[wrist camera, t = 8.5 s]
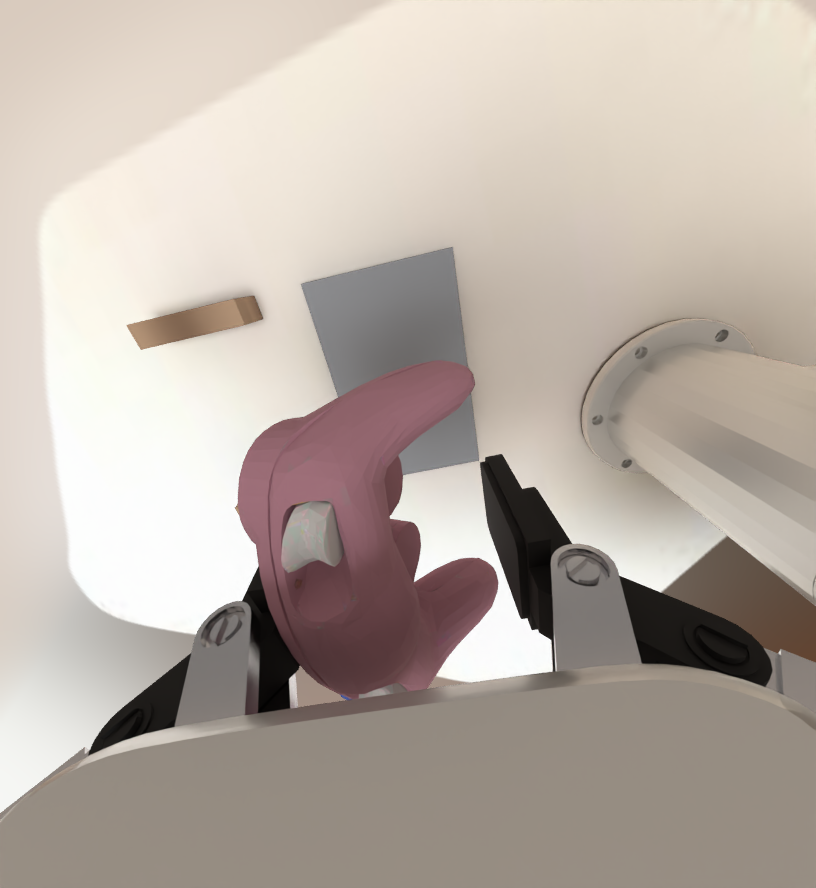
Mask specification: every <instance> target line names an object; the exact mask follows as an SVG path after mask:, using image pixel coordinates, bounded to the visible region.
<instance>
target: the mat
mask: <svg viewBox="0 0 816 888" xmlns="http://www.w3.org/2000/svg"><path fill="white" fill-rule="evenodd" d="M301 286H302V289H303V292H304V295H305V298H306V301H307V304H308V307H309V310H310V313H311V316H312V319H313V322H314V325H315V328H316V331H317V334H318V337H319V340H320V343H321V346H322V349H323V352H324V355H325V358H326V361H327V364H328V367H329V370H330V373H331V376H332V379H333V382H334V385H335V389H336V392H337V395H338V398H339V397H340V396H342V395H344V394H346V393H347V392H349V391H351V390H353V389H354V388H356V387H358V386H360V385H362V384H364V383H367V382H369V381H371V380H373V379H375V378H377V377H380V376H382V375H384V374H386V373H388V372H391V371H394V370H397V369H400V368H403V367H407V366H410V365H415V364H420V363H425V362H430V361H436V360H442V361H452V362H455V363H458V364H461V365H464V366H466V367H467V359H466V351H465V343H464V335H463V327H462V319H461V311H460V303H459V295H458V287H457V279H456V271H455V263H454V255H453V247H451V248H446V249H442V250H438V251H434V252H430V253H426V254H422V255H418V256H414V257H410V258H406V259H401V260H397V261H393V262H389V263H385V264H381V265H377V266H373V267H369V268H365V269H360V270H356V271H352V272H348V273H344V274H340V275H336V276H332V277H328V278H324V279H320V280H315V281H311V282H307V283H303V284H301ZM398 456H399V458H400V461H401V466H402V474H403V475H406V474H411V473H416V472H422V471H427V470H432V469H437V468H442V467H448V466H453V465H458V464H463V463H468V462H473V461H479V455H478V447H477V439H476V431H475V423H474V415H473V407H472V399H471V393H470V394H469V395H468V397H467V398H466V399H465V401H464V402H463V403H462V405H461V406H460V407H459V408H458V409H457V410H456V411H454V412H453V413H452V414H450V415H449V416H447V417H446V418H445V419H443V420H442V421H440V422H439V423H438V424H436V425H435V426H433V427H432V428H430V429H429V430H428V431H426V432H425V433H423V434H422V435H421V436H419V437H418V438H417V439H416V440H415V441H413V442H412V443H411V444H410V445H409V446H408V447H407V448H406V449H404V450H403V451H402V452H401V453H400V454H399V455H398Z"/></svg>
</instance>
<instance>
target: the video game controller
mask: <svg viewBox="0 0 816 888" xmlns="http://www.w3.org/2000/svg"><path fill="white" fill-rule="evenodd" d="M474 385H475V381H474V377H473V374H472V372H471V371H470V370H469V368H468V367H466V366H464V365H461V364H458V363H455V362H452V361H442V360H436V361H430V362H425V363H420V364H415V365H410V366H407V367H403V368H400V369H397V370H394V371H391V372H388V373H386V374H384V375H382V376H380V377H377V378H375V379H373V380H371V381H369V382H367V383H364V384H362V385H360V386H358V387H356V388H354V389H353V390H351V391H349V392H347V393H346V394H344V395H342V396H340V397H339V398H337V399H335V400H333V401H332V402H330V403H328V404H326V405H324V406H323V407H321V408H319V409H317V410H316V411H314V412H312V413H310V414H309V415H307V416H305V417H301V418H292V419H287V420H283V421H281V422H278V423H276V424H274V425H273V426H271V427H270V428H268V429H267V430H265V431H264V432H263V433H262V434H261V435H260V436H259V437H258V438H257V439H256V440H255V441H254V443H253V444H252V446H251V447H250V449H249V450H248V453H247V455H246V457H245V459H244V462H243V465H242V469H241V473H240V477H239V489H238V509H239V515H240V520H241V523H242V525H243V527H244V530H245V531H246V533H247V534H248V536H249V538H250V539H251V541H253V542H254V543H255V544H256V548H257V556H258V563H259V571H260V577H261V581H262V585H263V588H264V592H265V596H266V600H267V603H268V607H269V610H270V612H271V614H272V617H273V619H274V621H275V624H276V626H277V628H278V631H279V633H280V635H281V637H282V639H283V640H284V642H285V644H286V645H287V647H288V649H289V650H290V652H291V654H292V656H293V657H294V658H295V659H296V661H297V662H298V663H299V664H300V665H301V667H302V668H303V669H304V670H305V671H306V672H307V673H308V674H309V675H310V676H311V677H312V678H313V679H314V680H316V681H317V682H318V683H319V684H321V685H323V686H325V687H326V688H328V689H330V690H332V691H334V692H336V693H338V694H340V695H341V697H343V698H344V699H346V700H352V699H359V698H366V697H373V696H380V695H387V694H394V693H401V692H408V691H415V690H422V689H427V688H428V687H429V685H430V684H431V682H432V681H433V679H434V677H435V676H436V674H437V673H438V671H439V670H440V668H441V666H442V665H443V663H444V662H445V660H446V659H447V657H448V656H449V655H450V654H451V652H452V651H453V650H454V649H455V647H456V646H457V645H458V644H459V643H460V642H461V641H462V640H463V639H464V637H465V636H466V635H467V634H468V633H469V632H470V631H471V630H472V629H473V628H474V627H475V626H476V625H477V624H478V623H479V622H480V621H481V619H482V618H483V617H484V616H485V614H486V613H487V612H488V611H489V609H490V608H491V607H492V605H493V602H494V599H495V597H496V594H497V590H498V579H497V575H496V572H495V570H494V568H493V567H492V566H491V565H490V564H489V563H487V562H486V561H484V560H482V559H480V558H463V559H458V560H455V561H452V562H450V563H447V564H445V565H443V566H441V567H439V568H437V569H435V570H433V571H432V572H430V573H428V574H427V575H425V576H424V577H422V578H420V579H419V580H417V581H416V582H414V577H415V573H416V569H417V565H418V561H419V556H420V548H421V542H420V534H419V531H418V528H417V526H416V525H415V524H414V523H412V522H407V521H400V520H394V519H390V517H389V516H390V515H391V514H392V512H393V511H394V509H395V508H396V506H397V504H398V503H399V500H400V497H401V492H402V481H403V474H402V466H401V461H400V458H399V456H398V455H399V454H400V453H401V452H402V451H403V450H404V449H406V448H407V447H408V446H409V445H410V444H411V443H412V442H413V441H415V440H416V439H417V438H418V437H419V436H421V435H422V434H423V433H425V432H426V431H428V430H429V429H430V428H432V427H433V426H435V425H436V424H438V423H439V422H440V421H442V420H443V419H445V418H446V417H447V416H449V415H450V414H452V413H453V412H454V411H456V410H457V409H458V408H459V407H460V406H461V405H462V403H463V402H464V401H465V399H466V398H467V397H468V395H469V394H470V393H471V392H472V390H473V388H474Z"/></svg>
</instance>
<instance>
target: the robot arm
mask: <svg viewBox="0 0 816 888" xmlns="http://www.w3.org/2000/svg"><path fill="white" fill-rule="evenodd" d="M582 429H583V435H584V437H585V440H586V442H587V445H588V446H589V447H590V449H591V450H592V452H593V453H594V454H595V455H596V456H598V457H599V458H600V459H601V460H602V461H603V462H604V463H606V464H608V465H609V466H611V467H612V468H615V469H618V470H620V471H624V472H631V473H649V474H651V475H652V476H653V477H655V478H656V479H657V480H658V481H660V482H661V483H662V484H663V485H665V486H666V487H667V488H668V489H670V490H671V491H672V492H673V493H675V494H676V495H677V496H678V497H680V498H681V499H682V500H683V501H685V502H686V503H687V504H688V505H690V506H691V507H692V508H693V509H695V510H696V511H697V512H698V513H700V514H701V515H702V516H703V517H705V518H706V519H707V520H709V521H710V522H711V523H712V524H714V525H715V526H716V527H717V528H719V529H720V530H721V531H722V532H724V533H725V534H726V535H727V536H729V537H730V538H731V539H732V540H734V541H735V542H736V543H737V544H739V545H740V546H741V547H742V548H744V549H745V550H746V551H747V552H749V553H750V554H751V555H752V556H754V557H755V558H756V559H757V560H759V561H760V562H761V563H763V564H764V565H765V566H766V567H768V568H769V569H770V570H771V571H773V572H774V573H775V574H776V575H778V576H779V577H780V578H781V579H783V580H784V581H785V582H787V583H788V584H789V585H790V586H791V587H793V588H794V589H795V590H796V591H798V592H799V593H800V594H802V595H803V596H804V597H805V598H806V599H808V600H809V601H810V602H811V603H813V604H814V605H815V606H816V365H807V366H800V365H795V364H791V363H787V362H782V361H778V360H773V359H769V358H765V357H760V356H756V354H755V352H754V349H753V346H752V344H751V342H750V341H749V340H748V339H747V337H746V336H745V335H744V334H743V333H742V332H741V331H739V330H738V329H736V328H735V327H733V326H732V325H729V324H726V323H723V322H720V321H715V320H708V319H701V318H700V319H681V320H677V321H672V322H667V323H664V324H662V325H659V326H657V327H654V328H652V329H649V330H647V331H646V332H644V333H642V334H641V335H639V336H637V337H635V338H634V339H632V340H631V341H630V342H628V343H627V344H626V345H625V346H623V347H622V348H621V349H619V350H618V351H617V352H616V353H615V354H614V355H613V356H612V357H611V358H610V359H609V360H608V361H607V363H606V364H605V365H604V366H603V367H602V369H601V370H600V372H599V373H598V374H597V376H596V377H595V379H594V381H593V383H592V385H591V387H590V389H589V391H588V393H587V395H586V399H585V402H584V405H583V411H582ZM480 468H481V476H482V484H483V492H484V500H485V508H486V516H487V523H488V527H489V531H490V534H491V537H492V539H493V542H494V545H495V548H496V551H497V553H498V556H499V559H500V562H501V565H502V568H503V570H504V573H505V576H506V579H507V582H508V584H509V587H510V590H511V593H512V596H513V599H514V601H515V604H516V607H517V610H518V613H519V615H520V618H521V619H524V618H528V621H529V624H530V626H531V629H532V630H535V629H538V630H539V633H541V634H542V635H544V636H546V637H547V638H549V639H551V653H552V672H547V673H539V674H531V675H524V676H516V677H509V678H502V679H495V680H487V681H480V682H473V683H465V684H458V685H451V686H444V687H436V688H430V689H422V690H415V691H408V692H401V693H394V694H387V695H380V696H373V697H366V698H359V699H352V700H345V701H339V702H332V703H325V704H318V705H311V706H304V707H298V705H297V691H296V676H295V673H296V671H297V670H298V669H299V666H301V665H300V664H299V663H298V662H297V661H296V659H295V658H294V657H293V656H292V654H291V652H290V650H289V649H288V647H287V645H286V644H285V642H284V640H283V639H282V637H281V635H280V633H279V631H278V628H277V626H276V624H275V621H274V619H273V617H272V614H271V612H270V610H269V607H268V603H267V600H266V596H265V592H264V588H263V585H262V581H261V577H260V571H259V567H258V569H257V571H256V573H255V575H254V577H253V579H252V581H251V583H250V585H249V588H248V590H247V592H246V594H245V596H244V598H243V600H242V601H235V602H232V603H229V604H226V605H224V606H222V607H221V608H219V609H217V610H216V611H215V612H214V613H212V614H211V615H210V616H209V617H208V618H207V619H206V620H205V621H204V622H203V624H202V625H201V627H200V628H199V630H198V631H197V634H196V637H195V639H194V643H193V648H192V652H191V654H189V655H188V656H187V657H186V658H185V659H183V660H182V661H181V662H179V663H178V664H177V665H176V666H174V667H173V668H172V669H171V670H169V671H168V672H167V673H166V674H164V675H163V676H162V677H161V678H159V679H158V680H157V681H156V682H154V683H153V684H152V685H150V686H149V687H148V688H147V689H146V690H144V691H143V692H142V693H141V694H139V695H138V696H137V697H135V698H134V699H133V700H132V701H131V702H129V703H128V704H127V705H125V706H124V707H123V708H122V709H121V710H120V711H118V712H117V713H116V714H115V715H114V716H113V717H112V718H111V719H110V720H109V721H108V723H107V724H106V725H105V726H104V727H103V728H102V730H101V731H100V733H99V734H98V736H97V737H96V739H95V740H94V742H93V744H92V747H91V749H90V750H88V749H87V748H85V747H84V748H83V749H82V750H80V751H79V752H78V753H77V754H76V755H74V756H73V757H72V758H70V759H69V760H68V761H67V762H65V763H64V764H63V765H61V766H60V767H59V768H58V769H56V770H55V771H54V772H52V773H51V774H50V775H49V776H48V777H46V778H45V779H43V780H42V781H41V782H40V783H38V784H37V785H36V786H35V787H33V788H32V789H31V790H29V791H28V792H27V793H26V794H24V795H23V796H22V797H20V798H19V799H18V800H17V801H15V802H14V803H13V804H12V805H10V806H9V807H8V808H6V809H5V810H4V811H3V812H1V813H0V888H816V663H815V662H812V661H810V660H807V659H805V658H802V657H799V656H797V655H794V654H792V653H789V652H787V651H784V650H780V651H779V653H778V654H777V653H775V652H772V651H770V650H767V649H765V648H763V646H761V645H760V643H759V642H758V641H757V640H756V639H755V638H754V637H753V636H752V635H750V634H749V633H747V632H746V631H745V630H743V629H742V628H741V627H739V626H738V625H736V624H734V623H732V622H730V621H728V620H726V619H724V618H722V617H719V616H717V615H714V614H712V613H709V612H707V611H705V610H702V609H700V608H697V607H695V606H692V605H689V604H687V603H685V602H682V601H680V600H678V599H675V598H673V597H670V596H668V595H665V594H663V593H660V592H658V591H655V590H653V589H651V588H648V587H646V586H643V585H641V584H638V583H636V582H633V581H631V580H628V579H626V578H624V577H621V576H619V574H618V570H617V568H616V566H615V563H614V562H613V561H612V560H611V559H610V557H609V556H608V555H606V554H605V553H603V552H602V551H600V550H599V549H596V548H594V547H591V546H588V545H583V544H572V543H571V541H570V540H569V538H568V537H567V535H566V534H565V532H564V530H563V529H562V527H561V526H560V524H559V523H558V521H557V520H556V518H555V516H554V515H553V513H552V512H551V510H550V509H549V507H548V506H547V504H546V502H545V501H544V499H543V498H542V496H541V495H540V493H539V492H538V490H537V489H536V488H535V487H531V488H525V489H522V488H521V486H520V485H519V483H518V481H517V479H516V478H515V476H514V474H513V472H512V471H511V469H510V467H509V465H508V464H507V462H506V460H505V458H504V457H503V455H502V454H500V455H495V456H489V457H486V458H485V462H480Z"/></svg>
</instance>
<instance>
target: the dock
mask: <svg viewBox="0 0 816 888" xmlns="http://www.w3.org/2000/svg"><path fill="white" fill-rule="evenodd" d="M262 319H263V317H262V315H261V312H260V310H259V307H258V305H257V302H256V300H255V297H254V296H250V297H243V298H237V299H231V300H227V301H223V302H219V303H215V304H211V305H207V306H203V307H199V308H195V309H191V310H186V311H182V312H178V313H174V314H170V315H166V316H162V317H158V318H154V319H150V320H146V321H142V322H137V323H133V324H129V325H126V326H127V327H128V329H129V331H130V332H131V334H132V336H133V337H134V339H135V341H136V342H137V344H138V346H139V347H140V349H141V350H142V349H146V348H150V347H155V346H159V345H163V344H167V343H171V342H176V341H180V340H184V339H188V338H192V337H197V336H201V335H205V334H209V333H214V332H218V331H222V330H226V329H230V328H235V327H239V326H243V325H247V324H250V323H253V322H256V321H259V320H262ZM235 509H236V511H237V512H238V514H239V509H238V504H237V506H236V507H235ZM239 516H240V515H239Z"/></svg>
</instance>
